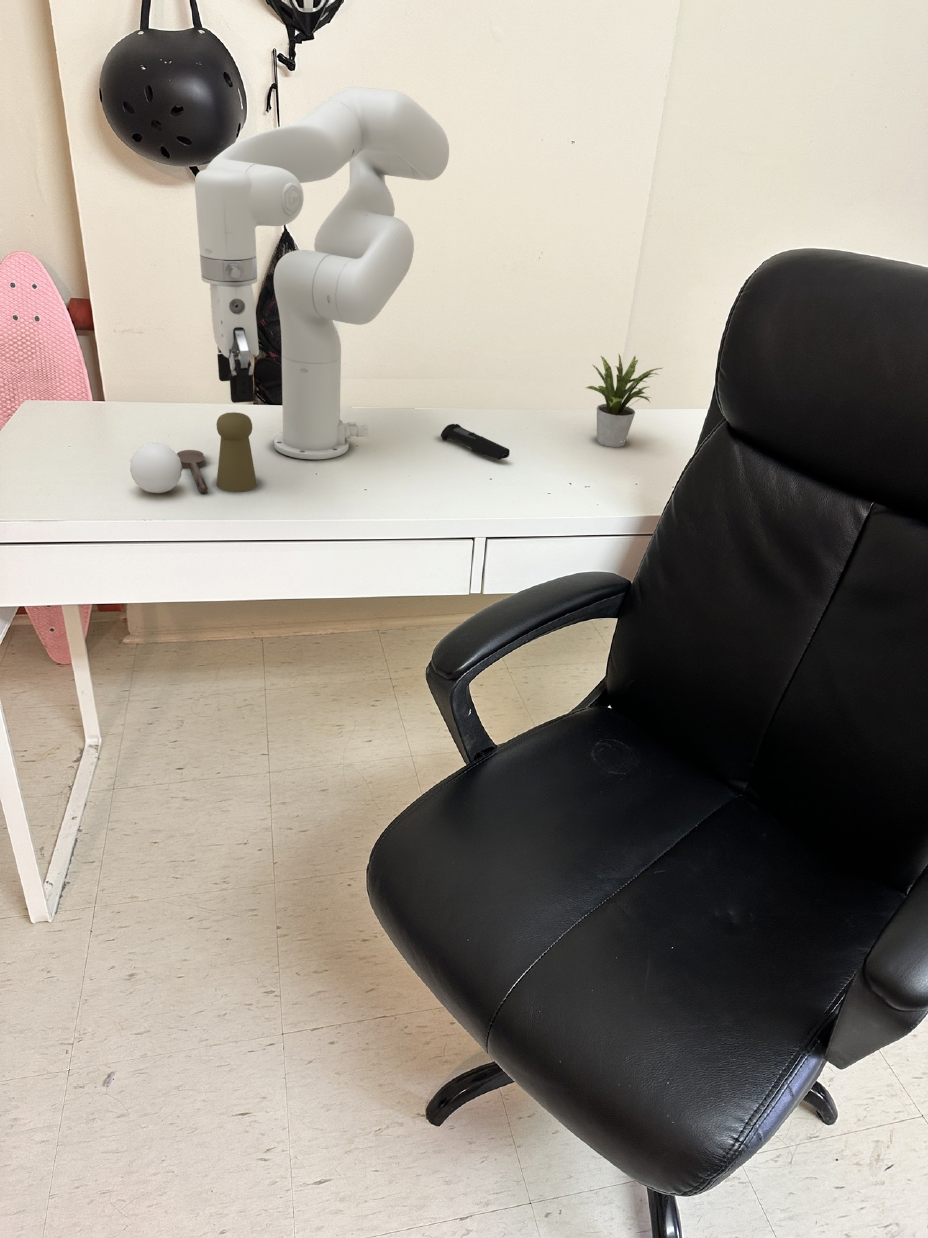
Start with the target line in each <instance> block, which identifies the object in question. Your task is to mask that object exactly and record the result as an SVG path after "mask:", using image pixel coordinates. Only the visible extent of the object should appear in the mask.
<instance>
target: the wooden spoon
mask: <svg viewBox="0 0 928 1238" xmlns="http://www.w3.org/2000/svg"><path fill="white" fill-rule="evenodd" d="M176 454H177V455H178V457H179V458H180V461H181V465H182V466H183V469H189V470H190V471H191V473H192V475H193V478H194V480H195V483H196V485H197V487H198V490H199V492H200V493H201V494H206V493H207V492H208V490H209V489H208V486H207V484H206V482H205V479H204V477H203V474H202V471H201V469H200V468H203V467H204V466H206V457H205V455H204V452H202V451H200V450H197V449H196V450H195V449H184V450H180V451H178V452H176Z"/></svg>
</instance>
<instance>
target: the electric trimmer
mask: <svg viewBox="0 0 928 1238" xmlns="http://www.w3.org/2000/svg"><path fill="white" fill-rule="evenodd" d="M440 438H441V439H442V440H443V441H445V440H450V441H452V442H455V443H457V444H459V445H462V446H464V447H467V448H469V449H470V450H471V452H473V453H475V454H478V455H481V456H485V457H488V458H491V459H495V460H497V461H499V460H504V459H508V457H510V448H507V447H506V446H503V445H501V444H499V443H497V442H495V441H493V440H490V439H488V438H486V437H485V436H482V435H479V434H477V433H475V432H472V431H470V430H468V429H466V428H464V427H462V426H461V425H460V424H459V423H450V424H448V425H446V426H444V428H443V429H442V431H441V433H440Z"/></svg>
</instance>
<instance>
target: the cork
mask: <svg viewBox="0 0 928 1238" xmlns="http://www.w3.org/2000/svg"><path fill="white" fill-rule="evenodd" d="M215 425H216V431H217V434H218V435H219V437H220V443H219V454H218V465H217V475H216V487H217V488H218V489H220V490H222V491H226V492H230V493H231V492H232V493H243V492H248V491H251V490H253V489H255V488H256V487H257V485H258V483H257V475H256V471H255V465H254V459H253V453H252V448H251V447H252V446H251V441H250V436H251V434H252V433H253V422H252V420H251V417H250V416H248V415H247V414H245V413H243V412H242V413H241V412H235V411H233V412H225V413H223V414H221V415H219V416H218V418H217V420H216V424H215Z"/></svg>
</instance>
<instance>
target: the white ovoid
mask: <svg viewBox="0 0 928 1238" xmlns="http://www.w3.org/2000/svg"><path fill="white" fill-rule="evenodd" d="M183 469H184V468H183V466H182V465H181V461H180V458H179V457H178V455H177V452H176V451H175V450H174V449H172V448H171V447H170V446H169V445H166V444H163V443H160V442H149V443H146V444H143V445H141V446H139V448H138V449H137V450H135V452H134V453H132V456H131V458H130V464H129V472H130V476H131V479H132V480H133V481H134V483H135V484H136V485H137V486H138V487H139V488H140V489H142V490H143V491H145V492H148V493H153V494H163V493H166V492H169V491H171V490H172V489H173V488H174V487H176V486H177V485H178V484H179V482H180V479H181V478H182V472H183Z"/></svg>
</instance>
